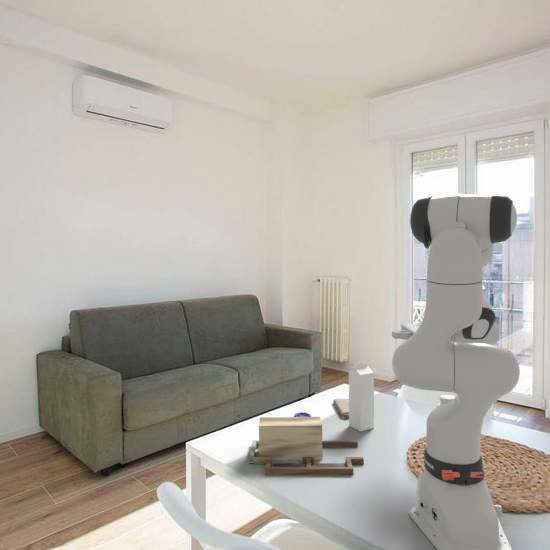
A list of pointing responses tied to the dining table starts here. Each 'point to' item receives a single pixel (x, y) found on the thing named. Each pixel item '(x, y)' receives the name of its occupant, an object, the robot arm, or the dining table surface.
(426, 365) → the robot arm
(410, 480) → the dining table surface
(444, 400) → the supplement bottle
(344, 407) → the washcloth
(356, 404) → the milk
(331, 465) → the frame
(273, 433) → the beige rectangular block
